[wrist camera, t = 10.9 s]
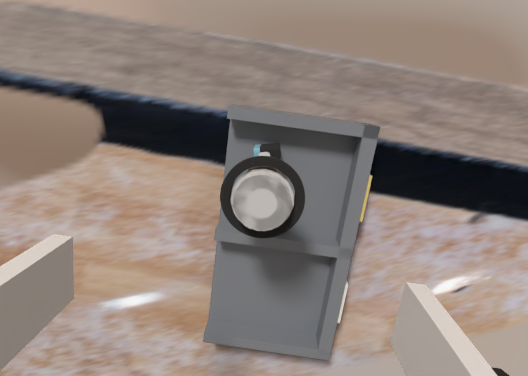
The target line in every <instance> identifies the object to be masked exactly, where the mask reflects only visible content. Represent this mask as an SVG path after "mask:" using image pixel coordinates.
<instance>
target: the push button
mask: <svg viewBox="0 0 528 376" xmlns="http://www.w3.org/2000/svg"><path fill="white" fill-rule="evenodd" d="M247 169H248V171H247V172H246V174H244V175H243V176H241V177H240V178H239V179H238V180H237V182H236V183H235V185H234V181H235V179H236V178H237V177H238V176H239V175H240V174H241V173H242V172H244V171H245V170H247ZM285 175H286V176H287V177H288V178H289V180H290V181H291V183H292V184H293V187H294V189H295V196H294V193H293V190H292V188H291V186H290V184H289V182H288V181H287V179H286V176H285ZM233 185H234V186H233ZM220 201H221V207H222V210H223V213H224V215H225V217H226V218H227V220H228V221H229V222H230V224H231V225H232V226H233V227H234V228H236V229H237V230H238V231H240V232H241V233H243V234H245V235H248V236H251V237H255V238H272V237H276V236H279V235H281V234H283V233H285V232H287V231H288V230H290V229H291V228H292V227H293V226H294V225H295V224H296V223H297V221H298V220H299V218H300V217H301V215H302V212H303V210H304V205H305V190H304V186H303V183H302V181H301V179H300V177H299V175H298V174H297V172H296V171H295V170H294V169H293V168H292V167H291V166H290V165H289V164H287V163H286V162H284V161H282V160H280V144H279V143H270V144H258V145H255V146H254V157H250V158H247V159H245V160H243V161H241V162H239V163H238V164H236V165H235V166H234V167H233V168H232V169H231V170H230V171H229V173H228V174H227V176H226V177H225V179H224V181H223V184H222V187H221V193H220Z"/></svg>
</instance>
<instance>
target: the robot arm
mask: <svg viewBox="0 0 528 376" xmlns="http://www.w3.org/2000/svg"><path fill="white" fill-rule="evenodd" d="M73 299H74V286H73V237H71V236H64V235H57V234H53V235H51V236H50V237H48V238H46V239H45V240H43V241H41V242H40V243H38V244H36V245H35V246H33V247H31V248H30V249H28V250H26V251H25V252H23V253H22V254H20V255H18V256H17V257H15V258H13V259H12V260H10V261H8V262H7V263H5V264H3V265H2V266H0V371H1V370H2V369H3V368H4V367H5V366H6V365H7V364H8V363H9V362H10V361H11V360H12V359H13V358H14V357H15V356H16V355H17V354H18V353H19V352H20V351H21V350H22V349H23V348H24V347H25V346H26V345H27V344H28V343H29V342H30V341H31V340H32V339H33V338H34V337H35V336H36V335H37V334H38V333H39V332H40V331H41V330H42V329H43V328H44V327H45V326H46V325H47V324H48V323H49V322H50V321H51V320H52V319H53V318H54V317H55V316H56V315H57V314H58V313H60V312H61V311H62V310H63V309H64V308H65V307H66V306H67V305H68V304H69V303H70V302H71V301H72V300H73ZM390 342H391V344H392V347H393V349H394V351H395V353H396V355H397V357H398V360H399V362H400V364H401V366H402V368H403V370H404V372H405V375H406V376H509V375H508V374H507V373H505V372H504V371H503V370H502V369H498V368H492V367H490V366H489V364H488V363H487V362H486V360H484V358H483V357H482V355H481V354H480V353H479V352H478V350H477V349H476V348H475V347H474V346H473V344H472V343H471V342H470V340H469V339H468V338H467V336H466V335H465V334H464V333H463V331H462V330H461V329H460V328H459V326H458V325H457V324H456V323H455V321H454V320H453V319H452V318H451V316H450V315H449V314H448V312H447V311H446V310H445V309H444V307H443V306H442V305H441V304H440V302H439V301H438V300H437V299H436V297H435V296H434V295H433V294H432V292H431V291H430V290H429V289H428V287H427V286H426V285H423V284H416V283H409V282H406V284H405V288H404V292H403V296H402V299H401V303H400V307H399V311H398V315H397V319H396V322H395V326H394V330H393V334H392V338H391V341H390Z"/></svg>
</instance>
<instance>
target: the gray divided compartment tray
mask: <svg viewBox="0 0 528 376" xmlns="http://www.w3.org/2000/svg"><path fill="white" fill-rule="evenodd" d="M227 118H229V119H230V127H229V136H228V145H227V154H226V164H225V173H224V179H225V177H226V176H227V174H228V173H229V171H230V170H231V169H232V168H233V167H234V166H235V165H236V164H238V163H239V162H241V161H243V160H245V159H247V158H250V157H254V146H255V145H258V144H270V143H279V144H280V160H282V161H284V162H286V163H287V164H289V165H290V166H291V167H292V168H293V169H294V170H295V171H296V172H297V174H298V175H299V177H300V179H301V181H302V183H303V186H304V190H305V205H304V210H303V212H302V215H301V217H300V218H299V220H298V221H297V223H296V224H295V225H294V226H293V227H292V228H291V229H290V230H288V231H287V232H285V233H283V234H281V235H279V236H276V237H272V238H255V237H251V236H248V235H245V234H243V233H241V232H240V231H238V230H237V229H236V228H234V227H233V226H232V225H231V224H230V222H229V221H228V220H227V218H226V217H225V215H224V213H223V210H222V207H221V209H220V219H219V223H218V225H217V227H216V229H215V237H214V240H217V246H216V255H215V265H214V274H213V283H212V292H211V301H210V311H209V320H208V323H207V326H206V329H205V332H204V340H203V342H207V343H214V344H221V345H227V346H234V347H241V348H248V349H254V350H261V351H268V352H275V353H282V354H288V355H295V356H302V357H309V358H316V359H322V360H329V358H330V353H331V349H332V344H333V340H334V335H335V330H336V326H337V323H340V320H341V315H342V311H343V306H344V302H345V297H346V293H347V288H348V282H347V276H348V271H349V267H350V262H351V257H352V253H353V248H354V244H355V239H356V235H357V230H358V226H359V221H360V222H362V221H363V216H364V212H365V207H366V203H367V198H368V194H369V189H370V185H371V180H372V175H370V171H371V166H372V162H373V157H374V153H375V148H376V144H377V139H378V134H379V130H380V127H379V126H376V125H372V124H367V123H360V122H352V121H345V120H338V119H331V118H324V117H317V116H310V115H303V114H296V113H289V112H281V111H274V110H267V109H260V108H253V107H246V106H239V105H228V114H227ZM247 171H248V169H247V170H245V171H244V172H242V173H241V174H240V175H239V176H238V177H237V178H236V179H235V181H234V185H235V183H236V182H237V180H238V179H239V178H240V177H241V176H243V175H244V174H246V172H247ZM285 176H286V175H285ZM286 179H287V181H288V182H289V184H290V186H291V188H292V190H293V193H294V196H295V189H294V187H293V184H292V183H291V181H290V180H289V178H288V177H287V176H286ZM234 185H233V186H234Z"/></svg>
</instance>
